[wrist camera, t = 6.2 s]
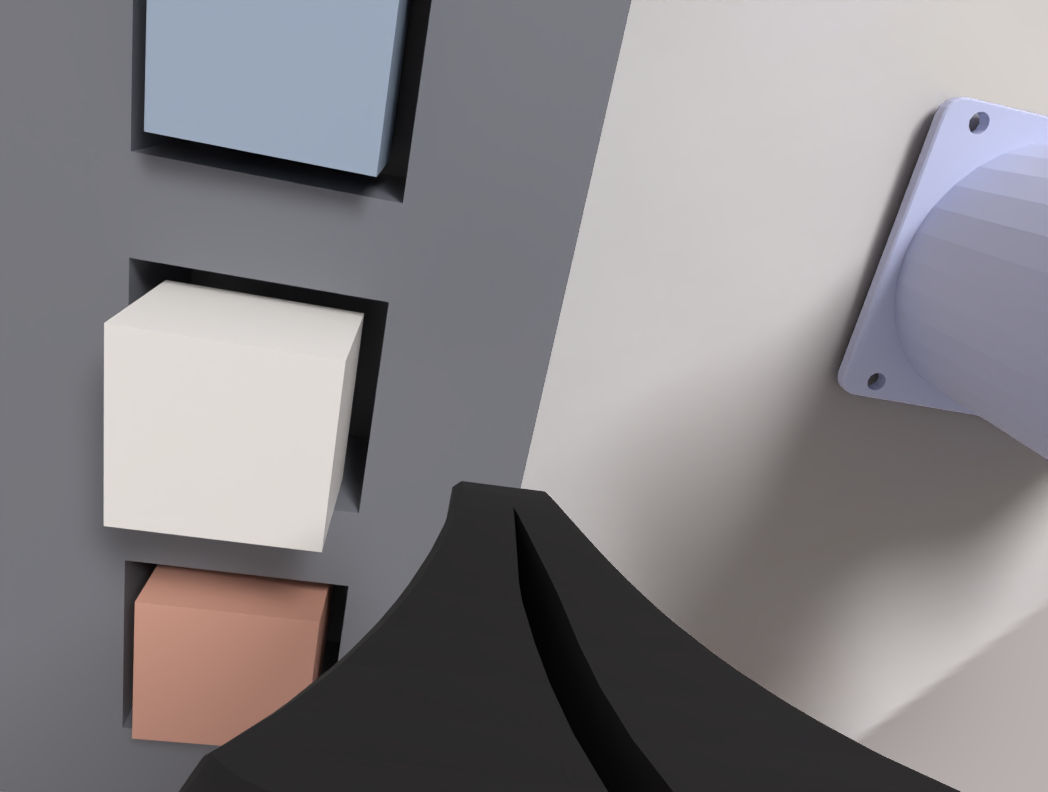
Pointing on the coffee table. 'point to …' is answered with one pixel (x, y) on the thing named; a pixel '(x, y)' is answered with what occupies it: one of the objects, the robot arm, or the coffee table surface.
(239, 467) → the white key
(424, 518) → the key housing
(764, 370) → the coffee table surface
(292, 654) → the red key
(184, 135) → the blue key
